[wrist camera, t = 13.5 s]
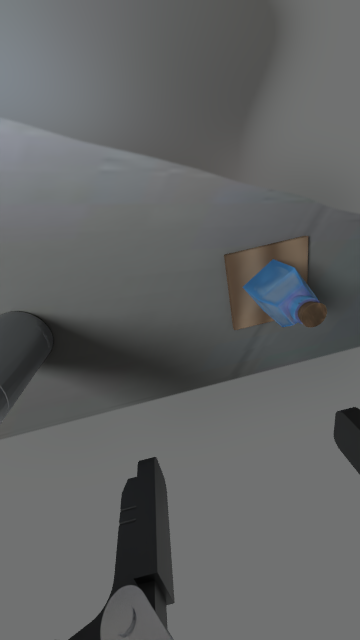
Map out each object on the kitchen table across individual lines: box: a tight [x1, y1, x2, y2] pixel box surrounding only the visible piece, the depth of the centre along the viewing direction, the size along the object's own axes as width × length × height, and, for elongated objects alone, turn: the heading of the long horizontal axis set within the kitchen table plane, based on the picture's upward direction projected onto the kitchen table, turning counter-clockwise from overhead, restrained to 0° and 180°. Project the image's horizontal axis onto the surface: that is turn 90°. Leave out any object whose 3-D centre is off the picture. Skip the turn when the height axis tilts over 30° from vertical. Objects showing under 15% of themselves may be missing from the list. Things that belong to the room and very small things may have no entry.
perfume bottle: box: [243, 259, 327, 327], centre depth 34 cm, size 6×6×12 cm
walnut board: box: [224, 236, 308, 330], centre depth 40 cm, size 13×13×1 cm
